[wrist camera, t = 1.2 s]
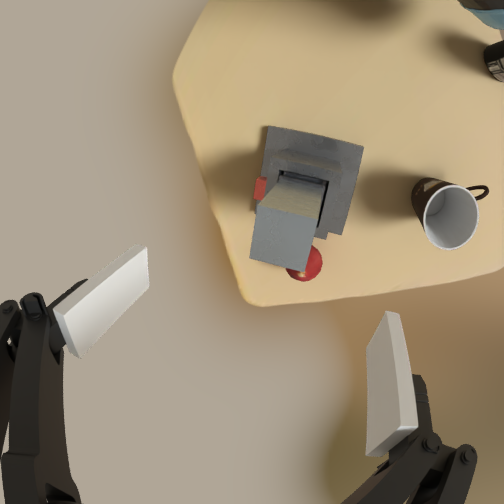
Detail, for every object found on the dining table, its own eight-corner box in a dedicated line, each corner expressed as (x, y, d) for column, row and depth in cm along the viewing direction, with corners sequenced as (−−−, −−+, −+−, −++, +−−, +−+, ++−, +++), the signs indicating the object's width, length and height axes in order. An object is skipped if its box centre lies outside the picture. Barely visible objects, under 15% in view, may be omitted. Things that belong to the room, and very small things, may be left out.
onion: (300, 272, 48) (294, 299, 41) (281, 246, 47) (272, 269, 40) (329, 257, 46) (327, 283, 39) (311, 229, 44) (306, 251, 37)
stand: (270, 125, 39) (248, 126, 28) (362, 146, 36) (375, 154, 26) (256, 210, 45) (232, 239, 35) (341, 231, 43) (343, 268, 33)
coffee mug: (404, 224, 39) (420, 251, 31) (404, 170, 36) (424, 184, 27) (464, 223, 36) (490, 248, 27) (467, 172, 32) (498, 186, 24)
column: (293, 161, 39) (254, 201, 20) (326, 169, 38) (322, 217, 19) (287, 192, 41) (245, 260, 22) (319, 200, 40) (306, 276, 21)
